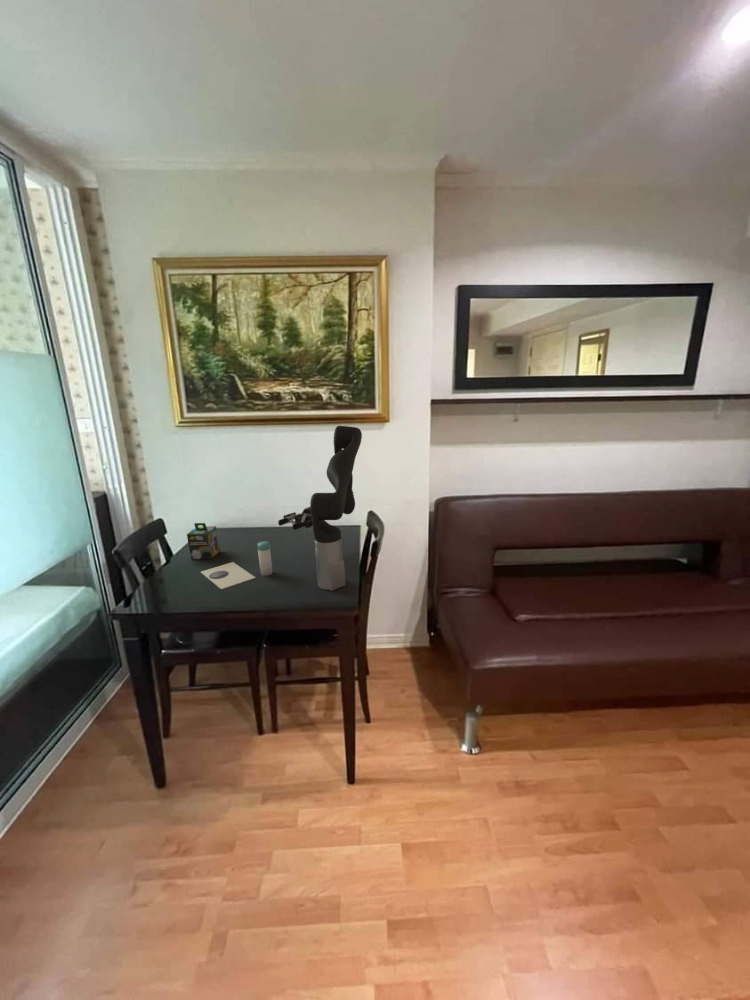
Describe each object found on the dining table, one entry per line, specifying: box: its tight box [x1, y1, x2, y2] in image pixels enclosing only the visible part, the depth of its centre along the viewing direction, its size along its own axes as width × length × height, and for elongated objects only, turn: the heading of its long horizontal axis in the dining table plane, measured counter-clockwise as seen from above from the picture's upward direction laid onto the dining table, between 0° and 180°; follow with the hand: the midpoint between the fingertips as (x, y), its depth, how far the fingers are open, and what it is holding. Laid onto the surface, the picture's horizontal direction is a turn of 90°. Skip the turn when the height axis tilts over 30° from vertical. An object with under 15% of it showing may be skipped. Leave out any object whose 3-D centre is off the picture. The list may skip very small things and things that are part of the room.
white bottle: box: [256, 540, 273, 577], centre depth 164 cm, size 4×4×12 cm
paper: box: [200, 561, 256, 590], centre depth 165 cm, size 20×13×1 cm, turn 41°
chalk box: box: [186, 522, 221, 560], centre depth 183 cm, size 9×9×15 cm
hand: (285, 525), depth 170 cm, fingers open, 8 cm apart
